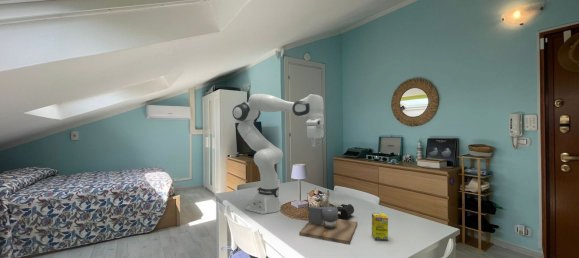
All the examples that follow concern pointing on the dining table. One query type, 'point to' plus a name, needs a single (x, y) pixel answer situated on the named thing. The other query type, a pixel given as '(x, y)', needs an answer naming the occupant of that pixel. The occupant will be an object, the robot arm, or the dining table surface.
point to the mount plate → (331, 230)
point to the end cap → (345, 211)
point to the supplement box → (380, 226)
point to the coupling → (322, 214)
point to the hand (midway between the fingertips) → (316, 146)
